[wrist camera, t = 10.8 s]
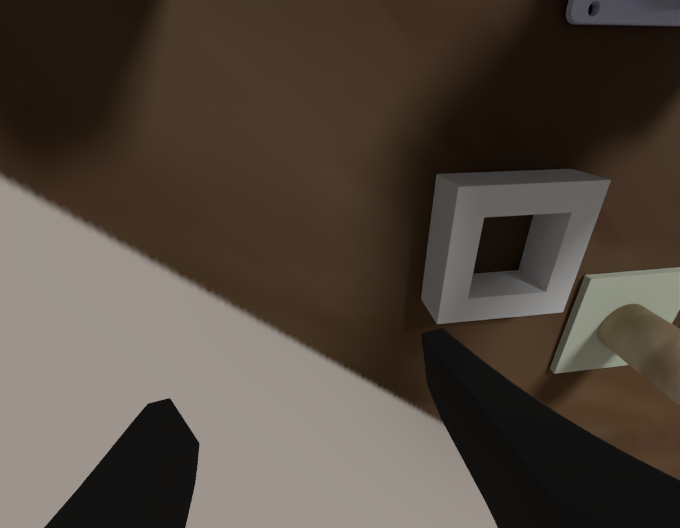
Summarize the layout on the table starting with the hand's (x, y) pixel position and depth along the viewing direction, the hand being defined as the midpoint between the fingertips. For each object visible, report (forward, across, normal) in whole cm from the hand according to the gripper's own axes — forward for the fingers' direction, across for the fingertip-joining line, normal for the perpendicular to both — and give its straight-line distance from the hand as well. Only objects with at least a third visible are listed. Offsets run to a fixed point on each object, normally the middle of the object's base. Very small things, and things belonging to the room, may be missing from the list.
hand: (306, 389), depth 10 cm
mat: (+9, -20, +11) cm, 25 cm away
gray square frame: (+9, -11, +2) cm, 14 cm away
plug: (+9, -20, +11) cm, 25 cm away
